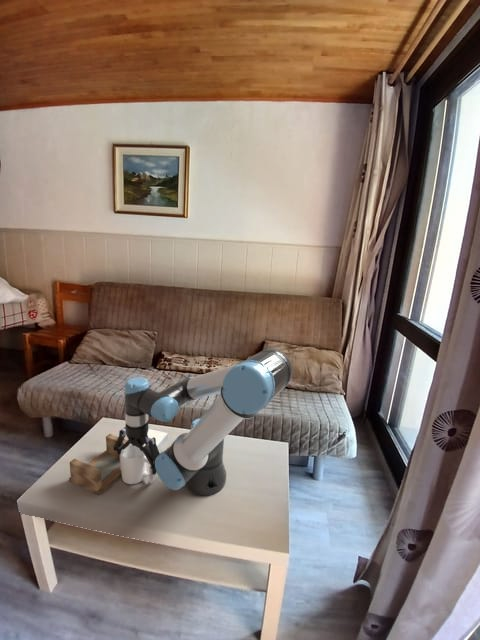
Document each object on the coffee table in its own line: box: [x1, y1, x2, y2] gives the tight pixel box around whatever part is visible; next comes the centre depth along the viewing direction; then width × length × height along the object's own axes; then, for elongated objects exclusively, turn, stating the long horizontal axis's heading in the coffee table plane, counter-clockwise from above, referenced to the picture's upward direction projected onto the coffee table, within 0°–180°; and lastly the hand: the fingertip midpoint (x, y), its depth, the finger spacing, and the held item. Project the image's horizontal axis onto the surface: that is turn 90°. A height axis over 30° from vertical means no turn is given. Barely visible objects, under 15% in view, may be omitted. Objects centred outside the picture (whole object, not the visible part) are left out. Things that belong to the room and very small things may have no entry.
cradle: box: [68, 433, 128, 496], centre depth 112 cm, size 14×18×8 cm
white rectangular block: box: [144, 428, 169, 450], centre depth 128 cm, size 10×14×3 cm
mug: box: [121, 444, 151, 485], centre depth 110 cm, size 9×12×11 cm
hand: (137, 473), depth 111 cm, fingers open, 12 cm apart
